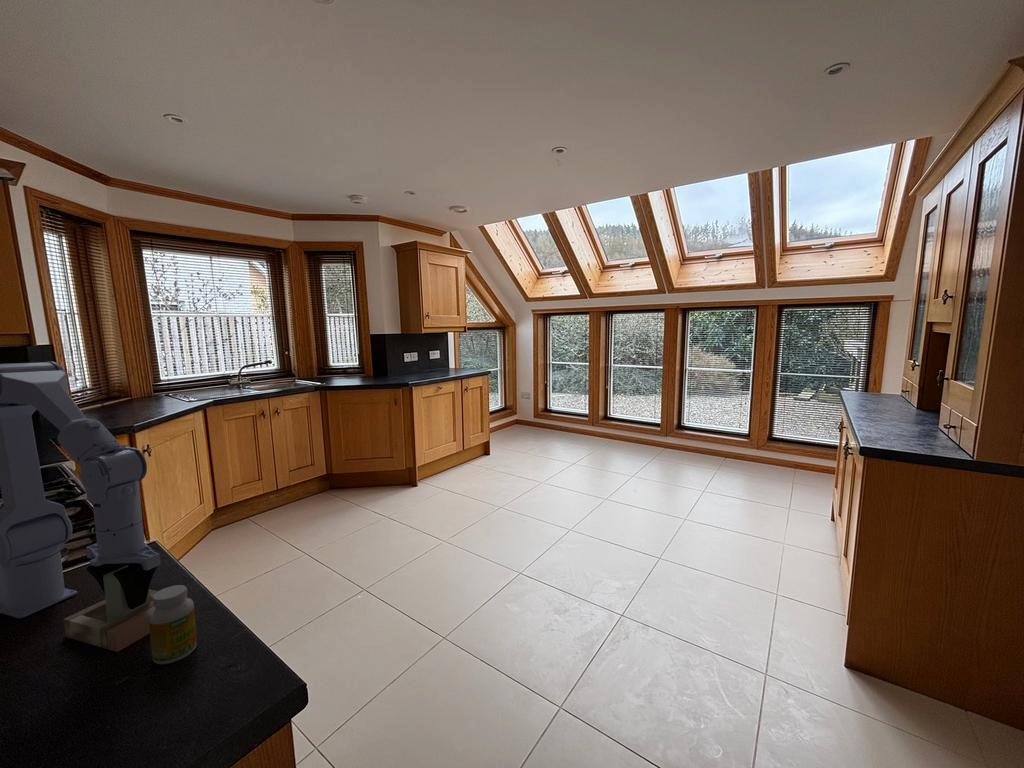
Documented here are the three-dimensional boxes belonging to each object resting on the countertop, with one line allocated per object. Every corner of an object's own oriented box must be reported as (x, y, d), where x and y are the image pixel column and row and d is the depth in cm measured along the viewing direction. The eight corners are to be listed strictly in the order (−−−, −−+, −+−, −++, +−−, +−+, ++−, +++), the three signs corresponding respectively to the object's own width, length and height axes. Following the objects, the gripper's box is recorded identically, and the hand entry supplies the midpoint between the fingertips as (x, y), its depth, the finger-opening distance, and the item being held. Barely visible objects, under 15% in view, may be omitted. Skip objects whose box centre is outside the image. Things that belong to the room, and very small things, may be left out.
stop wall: (108, 649, 66) (106, 631, 66) (176, 610, 76) (174, 594, 76) (117, 652, 66) (115, 633, 66) (184, 612, 75) (182, 596, 75)
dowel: (107, 622, 71) (103, 575, 70) (134, 608, 75) (130, 563, 74) (123, 626, 70) (119, 579, 69) (150, 612, 74) (147, 567, 73)
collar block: (65, 636, 70) (63, 619, 69) (135, 601, 79) (134, 585, 79) (107, 649, 67) (105, 630, 66) (174, 610, 76) (173, 594, 76)
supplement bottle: (172, 668, 62) (167, 604, 62) (142, 663, 64) (136, 600, 63) (206, 642, 68) (201, 583, 67) (177, 638, 69) (172, 580, 68)
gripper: (59, 529, 69) (68, 609, 70) (121, 540, 65) (130, 626, 66) (111, 512, 76) (119, 586, 77) (170, 521, 71) (177, 599, 73)
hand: (127, 603), depth 72 cm, fingers open, 4 cm apart
